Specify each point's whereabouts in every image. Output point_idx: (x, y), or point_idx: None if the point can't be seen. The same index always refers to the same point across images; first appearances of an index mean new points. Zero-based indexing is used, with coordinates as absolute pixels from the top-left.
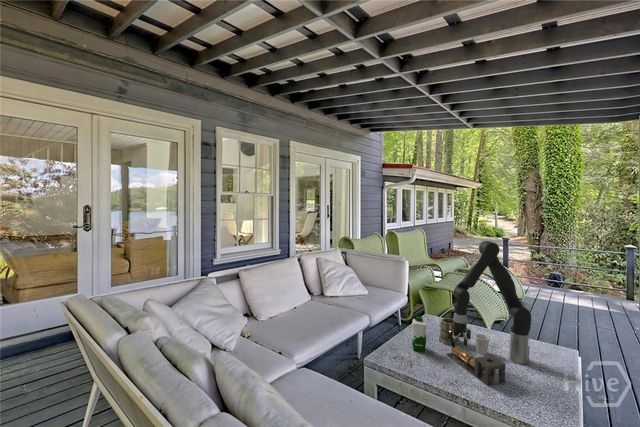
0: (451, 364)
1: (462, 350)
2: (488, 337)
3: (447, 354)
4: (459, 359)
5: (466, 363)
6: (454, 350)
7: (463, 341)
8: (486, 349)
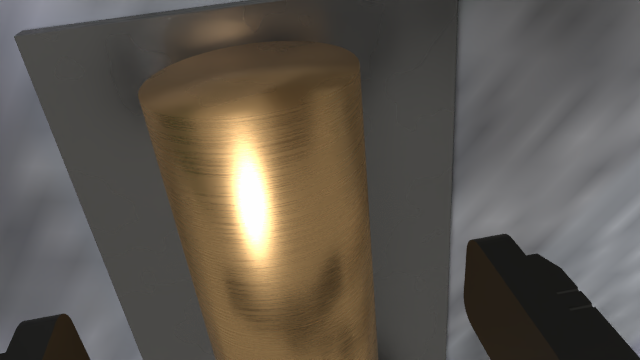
0: None
1: (302, 355)
2: None
3: (44, 70)
4: None
5: None
6: (171, 201)
7: (524, 310)
8: None
